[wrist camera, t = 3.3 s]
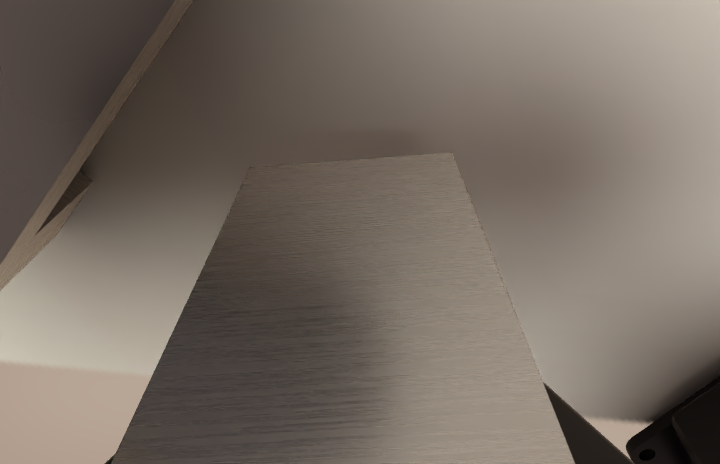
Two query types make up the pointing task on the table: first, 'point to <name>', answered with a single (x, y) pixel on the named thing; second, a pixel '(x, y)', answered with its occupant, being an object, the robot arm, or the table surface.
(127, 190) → the table surface
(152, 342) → the table surface
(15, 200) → the slotted bridge-shaped block
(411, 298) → the tall square pillar
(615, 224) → the table surface
